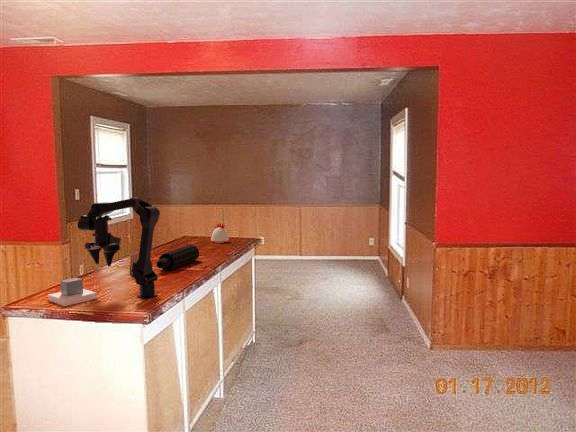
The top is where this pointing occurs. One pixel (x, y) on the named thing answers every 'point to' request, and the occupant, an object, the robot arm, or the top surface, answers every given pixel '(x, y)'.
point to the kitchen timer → (219, 234)
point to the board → (72, 297)
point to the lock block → (71, 286)
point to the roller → (178, 257)
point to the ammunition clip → (133, 260)
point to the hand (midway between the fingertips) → (103, 265)
